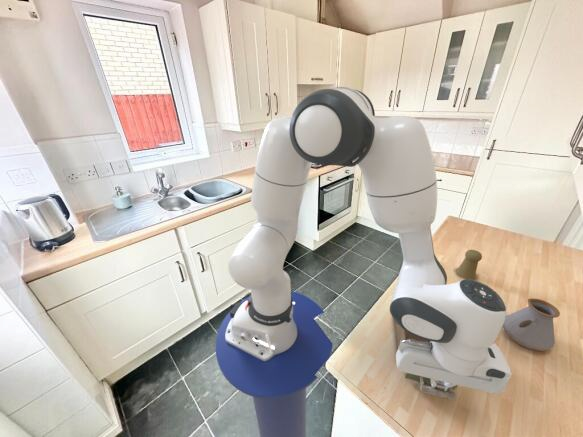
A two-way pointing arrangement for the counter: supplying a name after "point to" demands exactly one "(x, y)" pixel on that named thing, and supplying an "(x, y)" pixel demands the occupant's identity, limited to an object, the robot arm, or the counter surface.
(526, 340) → the coffee pot
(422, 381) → the drawer
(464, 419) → the counter surface
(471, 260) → the cork
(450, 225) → the counter surface
